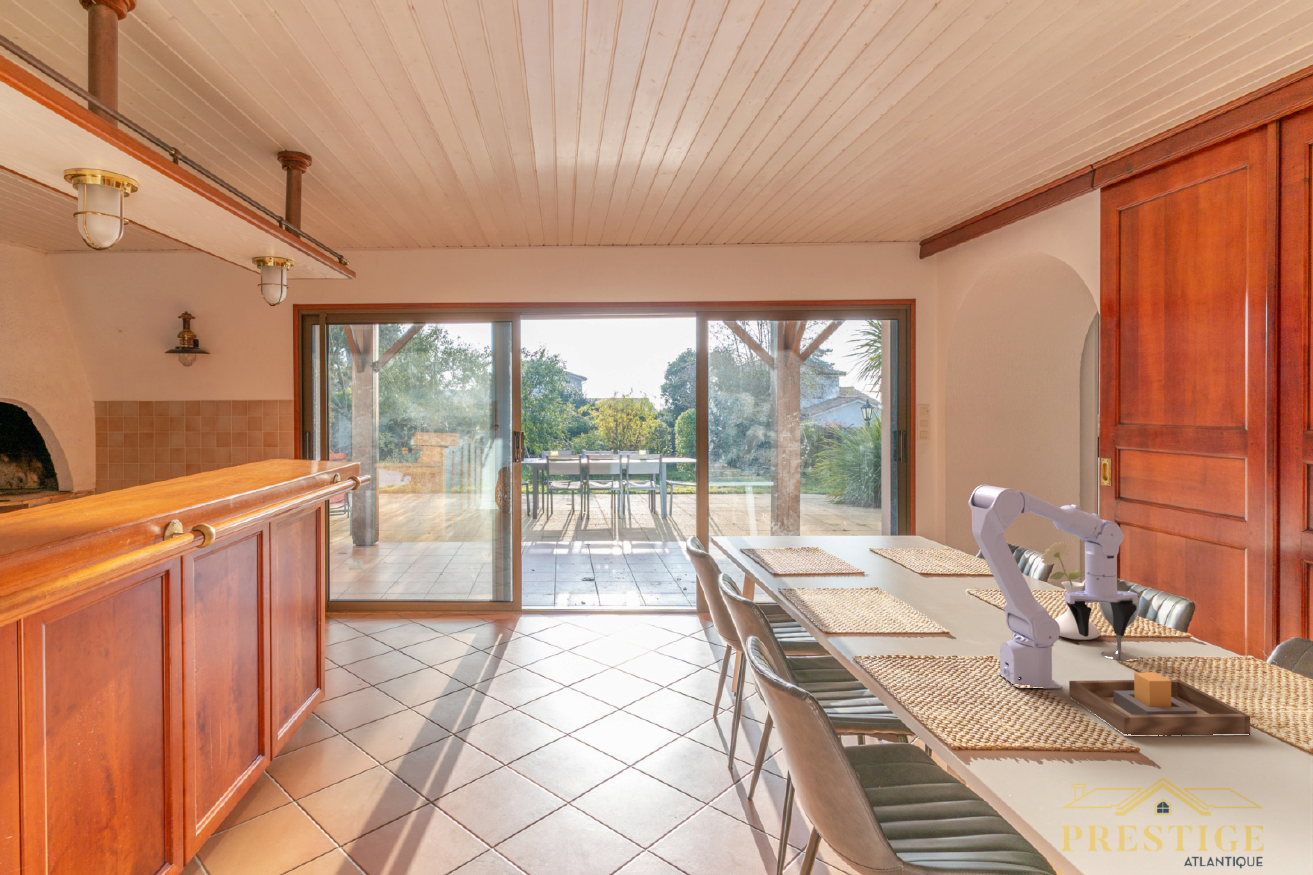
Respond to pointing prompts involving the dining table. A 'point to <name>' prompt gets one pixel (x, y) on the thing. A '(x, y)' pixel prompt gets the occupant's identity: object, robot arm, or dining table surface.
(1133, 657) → the wine glass
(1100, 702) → the walled box
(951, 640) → the dining table surface
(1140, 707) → the frame
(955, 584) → the dining table surface
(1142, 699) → the block
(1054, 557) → the flower in vase
